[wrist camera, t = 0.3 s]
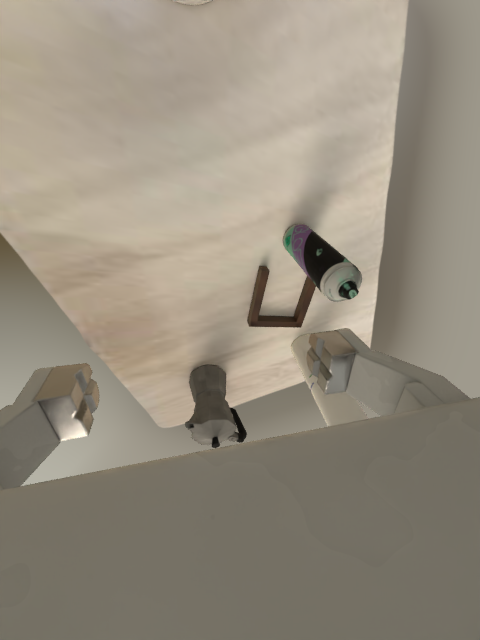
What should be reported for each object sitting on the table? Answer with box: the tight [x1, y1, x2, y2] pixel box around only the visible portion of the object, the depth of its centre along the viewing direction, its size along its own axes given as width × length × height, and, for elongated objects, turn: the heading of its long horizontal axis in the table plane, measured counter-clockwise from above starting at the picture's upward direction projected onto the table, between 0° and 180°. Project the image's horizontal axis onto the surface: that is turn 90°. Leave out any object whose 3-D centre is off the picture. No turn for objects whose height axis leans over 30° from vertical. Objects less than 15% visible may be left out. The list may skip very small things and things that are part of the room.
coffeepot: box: [185, 365, 247, 448], centre depth 61 cm, size 15×9×18 cm, turn 52°
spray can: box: [283, 224, 362, 302], centre depth 42 cm, size 6×6×20 cm
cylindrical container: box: [291, 334, 369, 427], centre depth 58 cm, size 7×7×25 cm
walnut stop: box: [247, 266, 316, 327], centre depth 57 cm, size 13×12×2 cm
